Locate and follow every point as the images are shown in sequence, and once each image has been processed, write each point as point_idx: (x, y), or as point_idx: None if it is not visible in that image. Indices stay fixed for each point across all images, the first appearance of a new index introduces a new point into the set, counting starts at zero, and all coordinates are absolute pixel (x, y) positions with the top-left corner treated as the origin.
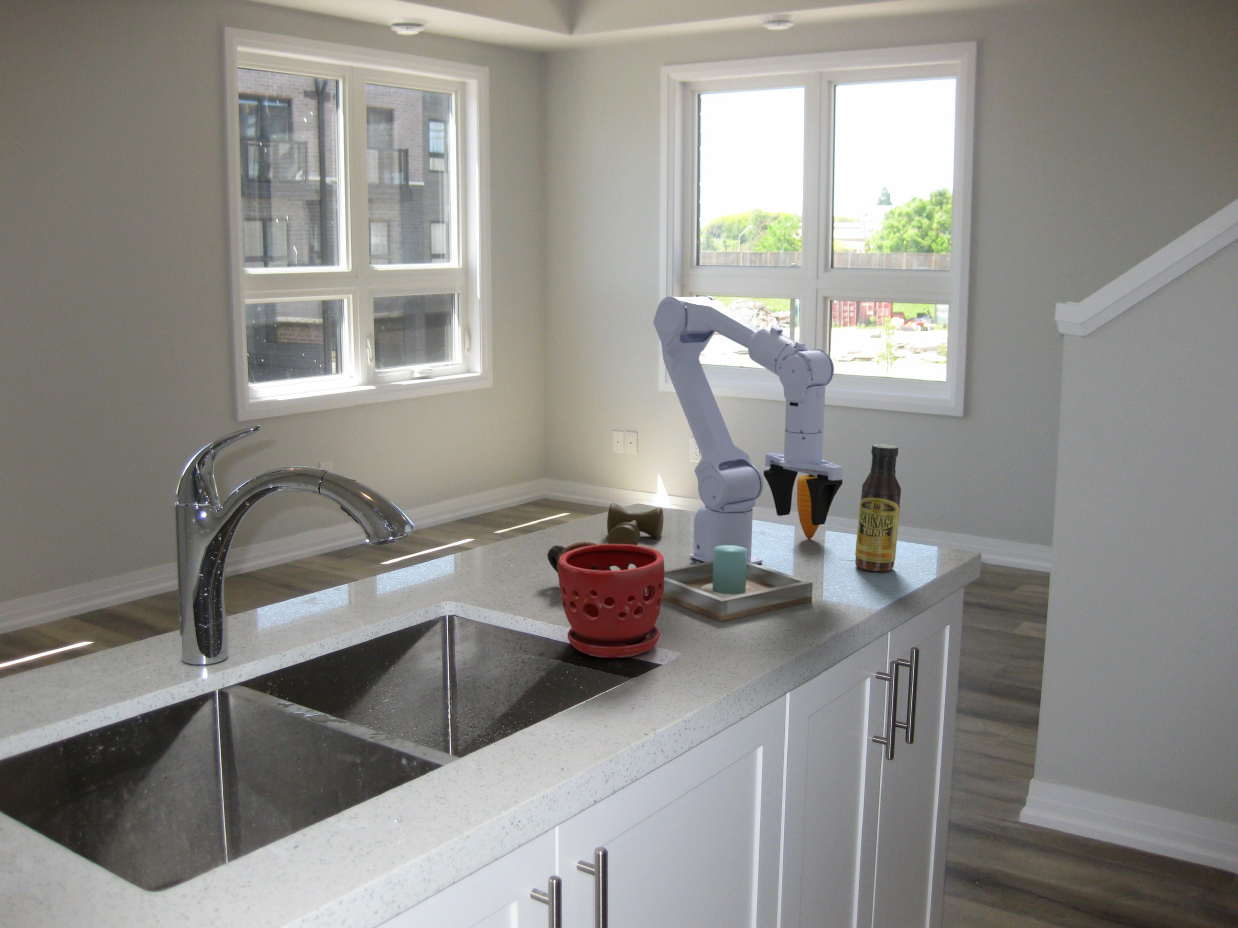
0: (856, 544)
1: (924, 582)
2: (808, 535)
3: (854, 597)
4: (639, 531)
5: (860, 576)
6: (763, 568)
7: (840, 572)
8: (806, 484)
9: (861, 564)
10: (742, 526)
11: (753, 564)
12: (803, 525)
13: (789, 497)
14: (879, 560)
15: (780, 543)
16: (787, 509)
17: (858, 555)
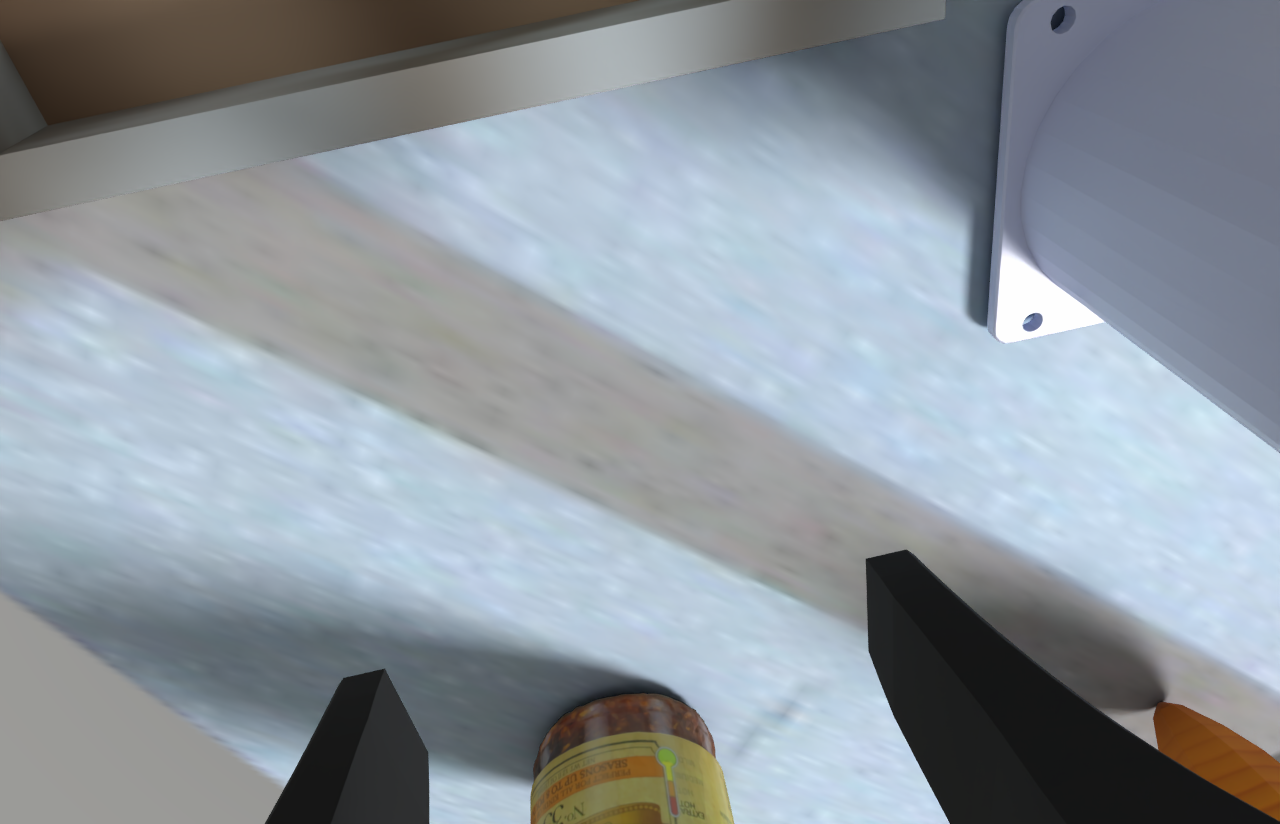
0: (683, 792)
1: None
2: (1167, 715)
3: (118, 462)
4: None
5: (520, 648)
6: (509, 61)
7: (624, 603)
8: None
9: (609, 712)
10: (1212, 283)
11: (665, 50)
12: (1218, 740)
13: (955, 807)
14: (537, 784)
15: (1208, 582)
16: (889, 675)
17: (637, 743)
